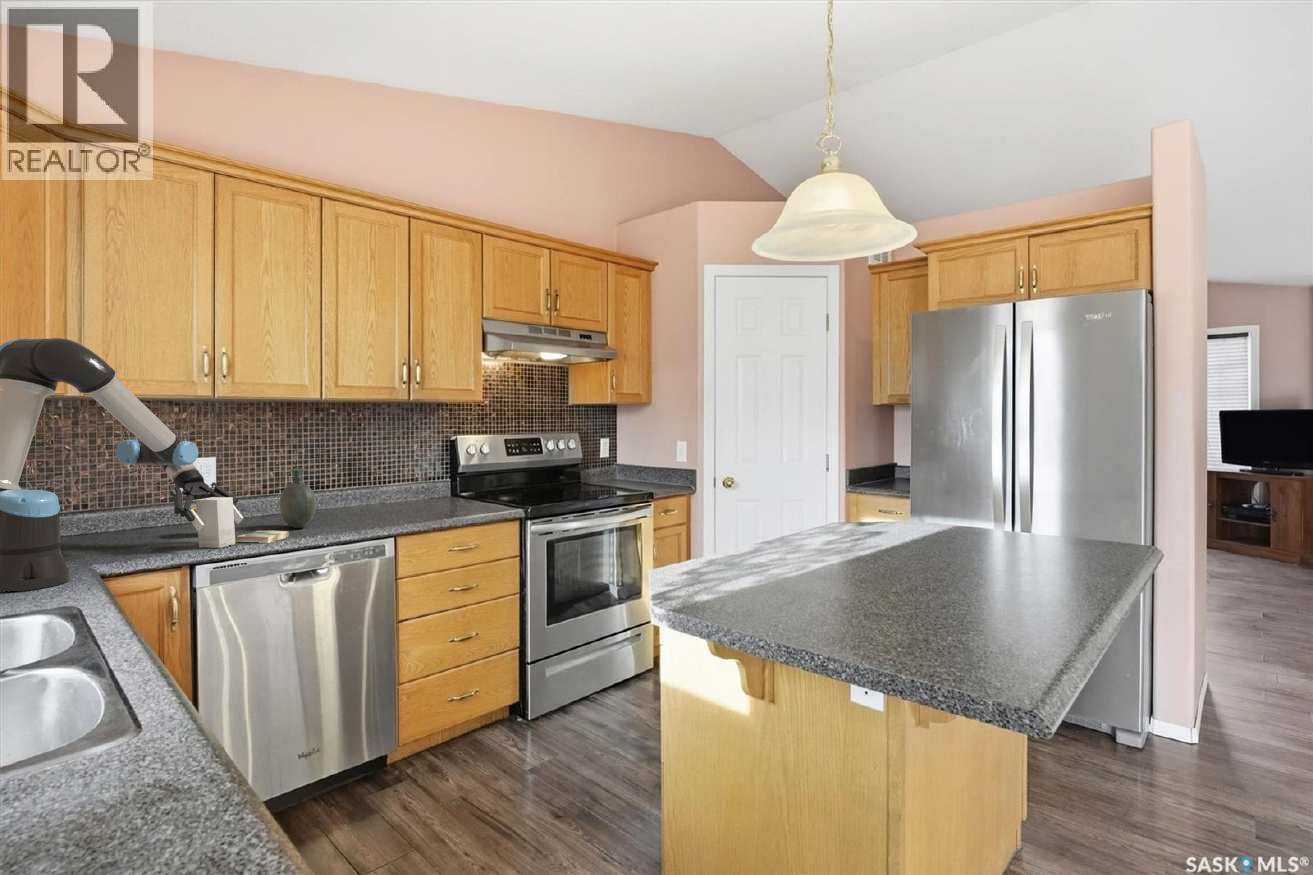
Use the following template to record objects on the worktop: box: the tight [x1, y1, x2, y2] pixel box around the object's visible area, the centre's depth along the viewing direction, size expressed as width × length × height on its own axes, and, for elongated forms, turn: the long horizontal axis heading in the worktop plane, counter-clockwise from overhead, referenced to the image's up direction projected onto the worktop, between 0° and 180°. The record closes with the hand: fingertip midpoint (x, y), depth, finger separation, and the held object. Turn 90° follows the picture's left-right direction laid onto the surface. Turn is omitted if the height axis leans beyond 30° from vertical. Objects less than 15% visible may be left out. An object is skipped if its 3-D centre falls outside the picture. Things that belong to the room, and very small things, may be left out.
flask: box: [278, 468, 317, 529], centre depth 244 cm, size 12×17×22 cm
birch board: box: [235, 530, 290, 544], centre depth 221 cm, size 11×11×2 cm
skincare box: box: [195, 497, 236, 549], centre depth 210 cm, size 8×7×16 cm
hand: (221, 524), depth 210 cm, fingers open, 13 cm apart
